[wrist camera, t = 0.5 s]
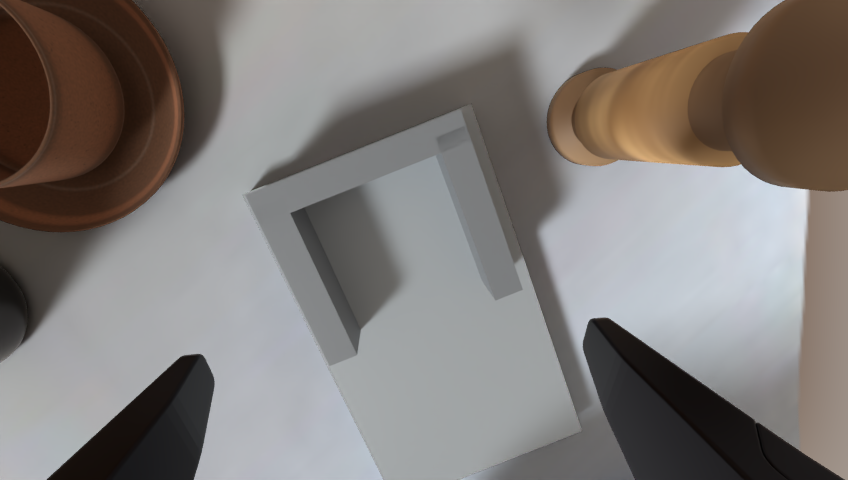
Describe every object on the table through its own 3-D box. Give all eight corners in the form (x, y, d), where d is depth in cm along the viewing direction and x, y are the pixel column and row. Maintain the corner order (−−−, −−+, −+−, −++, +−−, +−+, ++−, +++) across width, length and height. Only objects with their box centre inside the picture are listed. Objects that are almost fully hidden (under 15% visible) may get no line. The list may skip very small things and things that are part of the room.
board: (573, 418, 26) (605, 466, 22) (395, 488, 26) (396, 548, 23) (466, 105, 22) (483, 97, 18) (249, 191, 22) (219, 202, 18)
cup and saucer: (-132, 40, 19) (-371, -7, 13) (97, -89, 19) (-40, -199, 13) (45, 265, 22) (-85, 310, 16) (247, 156, 22) (193, 160, 16)
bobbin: (643, 145, 23) (957, 148, 10) (561, 178, 23) (774, 220, 10) (621, 56, 22) (945, -64, 9) (535, 91, 22) (738, 19, 9)
